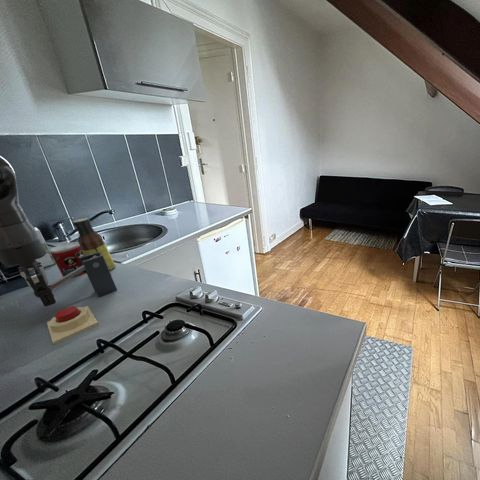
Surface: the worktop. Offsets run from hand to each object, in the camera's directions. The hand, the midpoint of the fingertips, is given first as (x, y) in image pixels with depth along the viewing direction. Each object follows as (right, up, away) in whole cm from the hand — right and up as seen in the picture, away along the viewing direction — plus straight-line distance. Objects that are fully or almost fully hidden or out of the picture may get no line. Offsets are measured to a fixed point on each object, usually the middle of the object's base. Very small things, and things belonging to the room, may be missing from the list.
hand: (49, 301), depth 68 cm
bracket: (+8, 0, +10) cm, 12 cm away
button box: (+11, -6, -4) cm, 13 cm away
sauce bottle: (-4, +4, +23) cm, 23 cm away
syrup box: (-35, +6, +32) cm, 47 cm away
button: (+11, -2, -6) cm, 12 cm away
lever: (+4, +5, +3) cm, 7 cm away
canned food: (-13, +4, +23) cm, 27 cm away
